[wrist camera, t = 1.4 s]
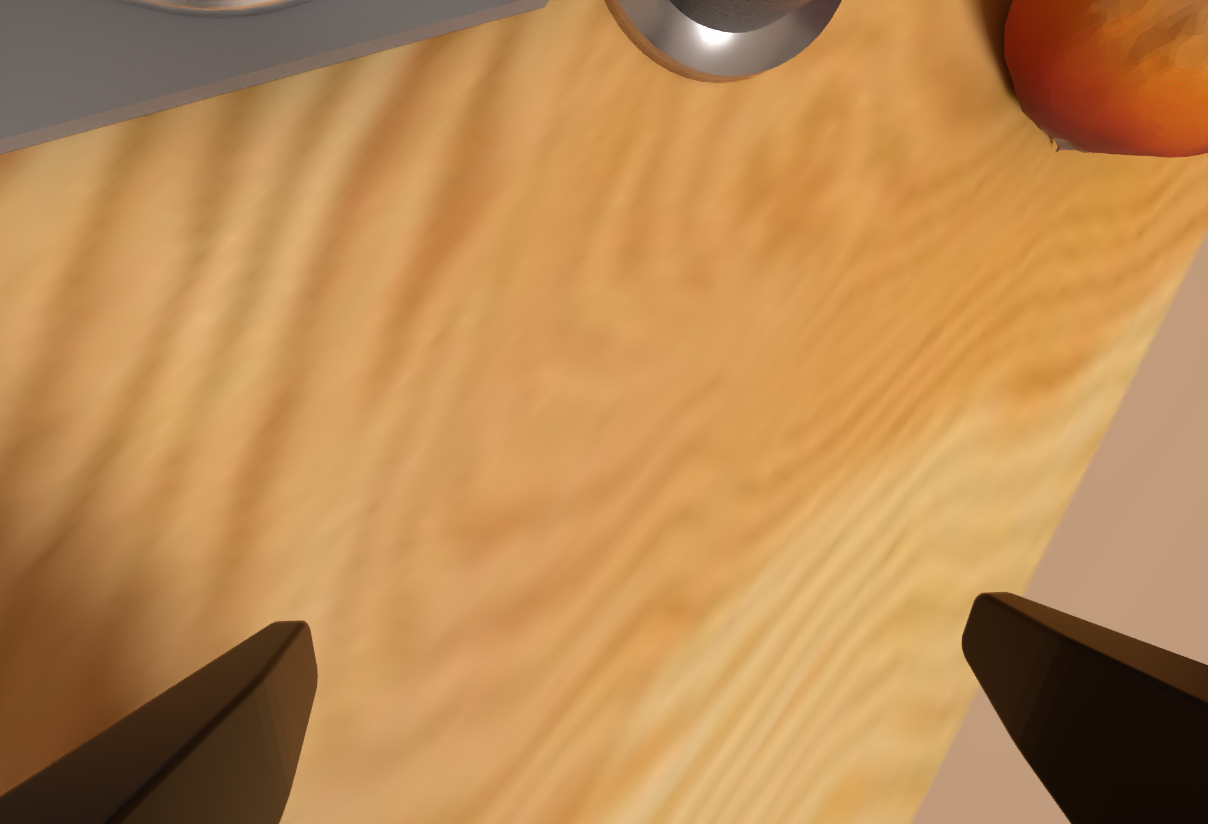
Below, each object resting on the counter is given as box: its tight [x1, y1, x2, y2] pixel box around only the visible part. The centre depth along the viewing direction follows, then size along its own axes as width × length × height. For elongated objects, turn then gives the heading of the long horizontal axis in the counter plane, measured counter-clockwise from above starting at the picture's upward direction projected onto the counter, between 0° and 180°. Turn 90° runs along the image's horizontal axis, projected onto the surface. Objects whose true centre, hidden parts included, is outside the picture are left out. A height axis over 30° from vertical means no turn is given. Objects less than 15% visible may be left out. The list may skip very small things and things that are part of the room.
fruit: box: [1004, 0, 1208, 157], centre depth 19 cm, size 8×8×8 cm
